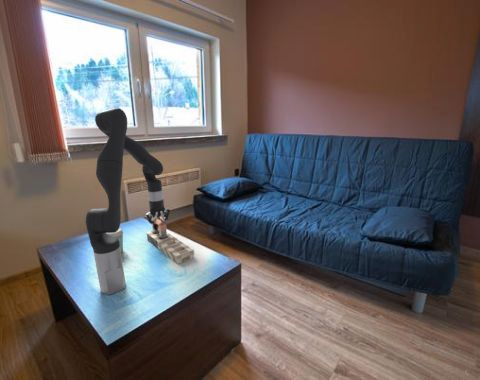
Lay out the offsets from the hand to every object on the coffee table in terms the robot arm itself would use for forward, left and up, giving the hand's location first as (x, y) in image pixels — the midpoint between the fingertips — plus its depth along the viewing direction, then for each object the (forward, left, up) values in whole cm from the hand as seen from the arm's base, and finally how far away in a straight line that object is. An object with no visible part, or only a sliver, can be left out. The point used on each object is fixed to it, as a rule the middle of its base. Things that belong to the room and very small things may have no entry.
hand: (159, 228), depth 142 cm
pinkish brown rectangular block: (0, 0, -5) cm, 5 cm away
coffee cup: (+4, +22, -8) cm, 24 cm away
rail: (-10, 0, -8) cm, 13 cm away
